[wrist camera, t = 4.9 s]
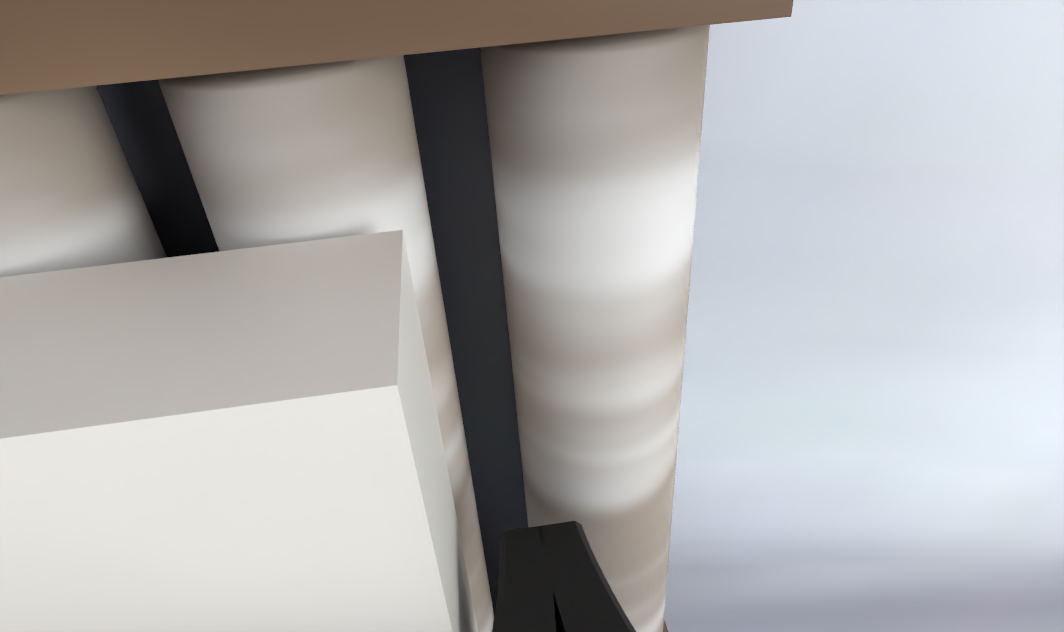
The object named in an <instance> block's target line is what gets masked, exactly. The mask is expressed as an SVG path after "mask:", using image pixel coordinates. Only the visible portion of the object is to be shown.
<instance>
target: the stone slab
mask: <svg viewBox="0 0 1064 632" xmlns="http://www.w3.org/2000/svg"><path fill="white" fill-rule="evenodd" d="M0 632H478V628H477V623H476V617H475V612H474V607H473V601H472V596H471V591H470V585H469V580H468V575H467V569H466V564H465V559H464V553H463V548H462V543H461V537H460V532H459V527H458V521H457V516H456V511H455V505H454V500H453V495H452V489H451V484H450V479H449V474H448V468H447V463H446V458H445V452H444V447H443V442H442V436H441V431H440V426H439V420H438V415H437V410H436V404H435V399H434V394H433V388H432V383H431V378H430V372H429V367H428V362H427V356H426V351H425V346H424V340H423V335H422V330H421V324H420V319H419V314H418V308H417V303H416V298H415V292H414V287H413V282H412V276H411V271H410V266H409V260H408V255H407V250H406V245H405V239H404V234H403V230H397V231H388V232H380V233H371V234H363V235H354V236H346V237H338V238H329V239H321V240H312V241H304V242H295V243H287V244H278V245H270V246H261V247H253V248H245V249H236V250H228V251H219V252H211V253H202V254H194V255H185V256H177V257H168V258H160V259H152V260H143V261H135V262H126V263H118V264H109V265H101V266H92V267H84V268H75V269H67V270H59V271H50V272H42V273H33V274H25V275H16V276H8V277H0Z"/></svg>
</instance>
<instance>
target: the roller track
mask: <svg viewBox="0 0 1064 632" xmlns="http://www.w3.org/2000/svg"><path fill="white" fill-rule="evenodd" d="M792 6H793V0H0V277H8V276H16V275H25V274H33V273H42V272H50V271H59V270H67V269H75V268H84V267H92V266H101V265H109V264H118V263H126V262H135V261H143V260H152V259H160V258H167V256H166V254H165V251H164V249H163V246H162V244H161V242H160V239H159V237H158V234H157V232H156V229H155V227H154V225H153V222H152V220H151V217H150V215H149V213H148V210H147V208H146V205H145V203H144V200H143V198H142V196H141V193H140V191H139V188H138V186H137V183H136V181H135V179H134V176H133V174H132V171H131V169H130V166H129V164H128V162H127V159H126V157H125V154H124V152H123V149H122V147H121V145H120V142H119V140H118V137H117V135H116V132H115V130H114V128H113V125H112V123H111V120H110V118H109V116H108V113H107V111H106V108H105V106H104V103H103V101H102V99H101V96H100V94H99V91H98V89H97V86H96V85H107V84H117V83H127V82H137V81H147V80H158V82H159V85H160V88H161V91H162V93H163V96H164V99H165V102H166V105H167V107H168V110H169V113H170V116H171V118H172V121H173V124H174V127H175V129H176V132H177V135H178V138H179V141H180V143H181V146H182V149H183V152H184V154H185V157H186V160H187V163H188V165H189V168H190V171H191V174H192V177H193V179H194V182H195V185H196V188H197V190H198V193H199V196H200V199H201V201H202V204H203V207H204V210H205V213H206V215H207V218H208V221H209V224H210V226H211V229H212V232H213V235H214V237H215V240H216V243H217V246H218V248H219V251H228V250H236V249H245V248H253V247H261V246H270V245H278V244H287V243H295V242H304V241H312V240H321V239H329V238H338V237H346V236H354V235H363V234H371V233H380V232H388V231H397V230H403V234H404V239H405V245H406V250H407V255H408V260H409V266H410V271H411V276H412V282H413V287H414V292H415V298H416V303H417V308H418V314H419V319H420V324H421V330H422V335H423V340H424V346H425V351H426V356H427V362H428V367H429V372H430V378H431V383H432V388H433V394H434V399H435V404H436V410H437V415H438V420H439V426H440V431H441V436H442V442H443V447H444V452H445V458H446V463H447V468H448V474H449V479H450V484H451V489H452V495H453V500H454V505H455V511H456V516H457V521H458V527H459V532H460V537H461V543H462V548H463V553H464V559H465V564H466V569H467V575H468V580H469V585H470V591H471V596H472V601H473V607H474V612H475V617H476V623H477V628H478V632H492V629H493V622H494V613H493V606H492V600H491V594H490V588H489V582H488V575H487V569H486V563H485V557H484V551H483V544H482V538H481V532H480V526H479V520H478V513H477V507H476V501H475V495H474V489H473V483H472V476H471V470H470V464H469V458H468V452H467V445H466V439H465V433H464V427H463V421H462V414H461V408H460V402H459V396H458V390H457V383H456V377H455V371H454V365H453V359H452V352H451V346H450V340H449V334H448V328H447V321H446V315H445V309H444V303H443V297H442V291H441V284H440V278H439V272H438V266H437V260H436V253H435V247H434V241H433V235H432V229H431V222H430V216H429V210H428V204H427V198H426V191H425V185H424V179H423V173H422V167H421V160H420V154H419V148H418V142H417V136H416V130H415V123H414V117H413V111H412V105H411V99H410V92H409V86H408V80H407V74H406V68H405V61H404V55H409V54H419V53H429V52H439V51H449V50H459V49H469V48H479V47H480V52H481V62H482V72H483V82H484V92H485V102H486V111H487V121H488V131H489V141H490V151H491V161H492V171H493V181H494V191H495V201H496V211H497V221H498V230H499V240H500V250H501V260H502V270H503V280H504V290H505V300H506V310H507V320H508V330H509V340H510V349H511V359H512V369H513V379H514V389H515V399H516V409H517V419H518V429H519V439H520V449H521V459H522V468H523V478H524V488H525V498H526V508H527V518H528V528H529V527H536V526H542V525H549V524H556V523H562V522H569V521H576V522H578V523H580V524H582V527H583V530H584V532H585V535H586V537H587V540H588V542H589V544H590V547H591V549H592V551H593V554H594V556H595V558H596V560H597V562H598V564H599V566H600V568H601V570H602V572H603V574H604V576H605V578H606V580H607V582H608V583H609V585H610V587H611V589H612V591H613V593H614V595H615V597H616V598H617V600H618V602H619V604H620V605H621V607H622V609H623V611H624V612H625V614H626V616H627V617H628V619H629V621H630V622H631V624H632V626H633V627H634V629H635V630H636V632H668V630H667V627H666V623H665V620H664V612H665V599H666V586H667V573H668V560H669V547H670V534H671V521H672V508H673V495H674V482H675V469H676V456H677V443H678V430H679V417H680V403H681V390H682V377H683V364H684V351H685V338H686V325H687V312H688V299H689V286H690V273H691V260H692V247H693V234H694V221H695V208H696V195H697V182H698V169H699V156H700V143H701V130H702V117H703V104H704V91H705V78H706V65H707V52H708V39H709V25H711V24H721V23H731V22H741V21H751V20H761V19H771V18H781V17H791V13H792Z"/></svg>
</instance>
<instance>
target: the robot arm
mask: <svg viewBox="0 0 1064 632" xmlns="http://www.w3.org/2000/svg"><path fill="white" fill-rule="evenodd" d="M498 542H499V575H498V589H497V598H496V607H495V616H494V622H493V629H492V632H636V630H635V629H634V627H633V626H632V624H631V622H630V621H629V619H628V617H627V616H626V614H625V612H624V611H623V609H622V607H621V605H620V604H619V602H618V600H617V598H616V597H615V595H614V593H613V591H612V589H611V587H610V585H609V583H608V582H607V580H606V578H605V576H604V574H603V572H602V570H601V568H600V566H599V564H598V562H597V560H596V558H595V556H594V554H593V551H592V549H591V547H590V544H589V542H588V540H587V537H586V535H585V532H584V530H583V527H582V524H580V523H578V522H576V521H569V522H562V523H556V524H549V525H542V526H536V527H529V528H522V529H516V530H509V531H504V532H503V533H502V534H501V535H500V536H499V537H498Z"/></svg>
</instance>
